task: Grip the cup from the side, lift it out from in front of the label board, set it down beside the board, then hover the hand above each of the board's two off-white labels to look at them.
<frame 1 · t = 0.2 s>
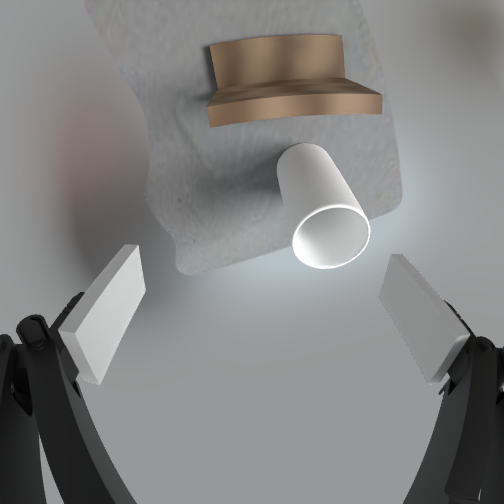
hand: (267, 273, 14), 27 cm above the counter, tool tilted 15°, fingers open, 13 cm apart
cup: (304, 168, 39), on the counter
label board: (282, 86, 30), on the counter
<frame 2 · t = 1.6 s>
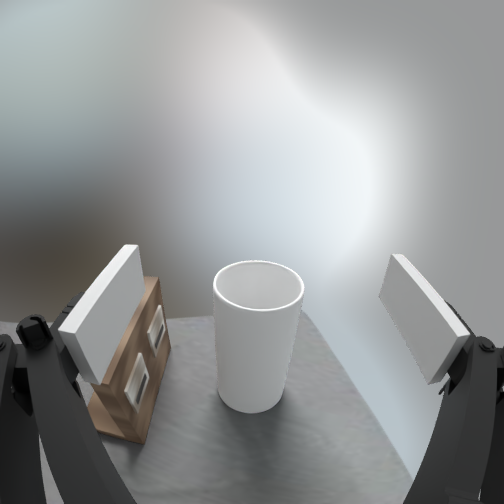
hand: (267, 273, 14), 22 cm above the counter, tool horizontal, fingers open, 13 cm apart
cup: (250, 387, 32), on the counter
label board: (150, 389, 30), on the counter
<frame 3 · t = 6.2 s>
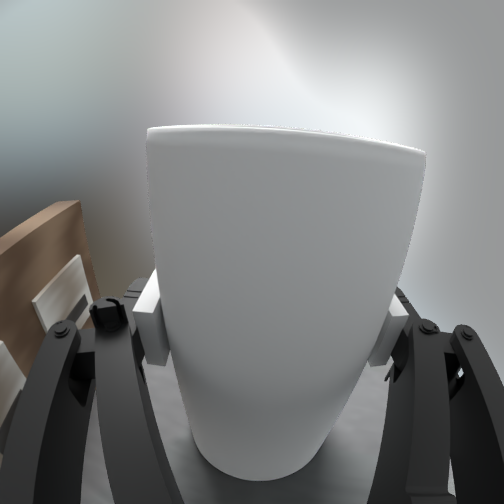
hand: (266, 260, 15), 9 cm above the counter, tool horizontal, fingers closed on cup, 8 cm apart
cup: (258, 425, 15), on the counter, touching gripper
label board: (70, 419, 13), on the counter
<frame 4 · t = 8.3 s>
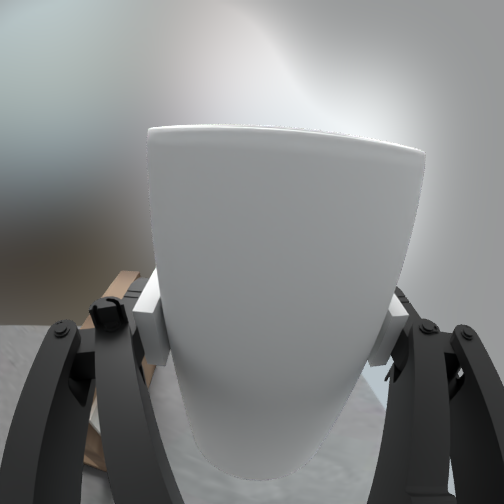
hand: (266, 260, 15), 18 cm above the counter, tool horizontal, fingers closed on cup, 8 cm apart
cup: (258, 424, 15), point 9 cm above the counter, touching gripper
label board: (132, 409, 23), on the counter
when the fingers open (10 cm above the counter, at t = 10.9 s): cup drops 1 cm, on the counter.
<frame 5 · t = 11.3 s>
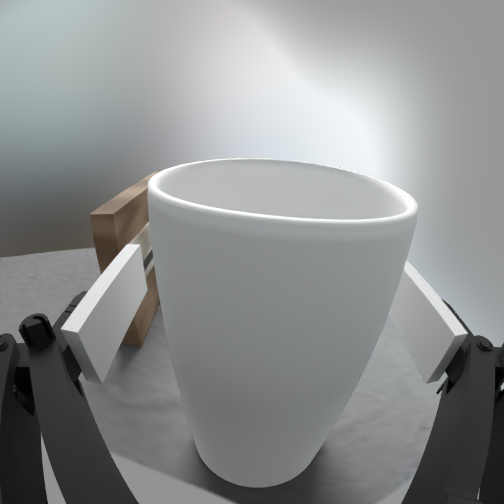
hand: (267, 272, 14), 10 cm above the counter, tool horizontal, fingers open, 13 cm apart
cup: (257, 435, 15), on the counter
label board: (154, 294, 29), on the counter
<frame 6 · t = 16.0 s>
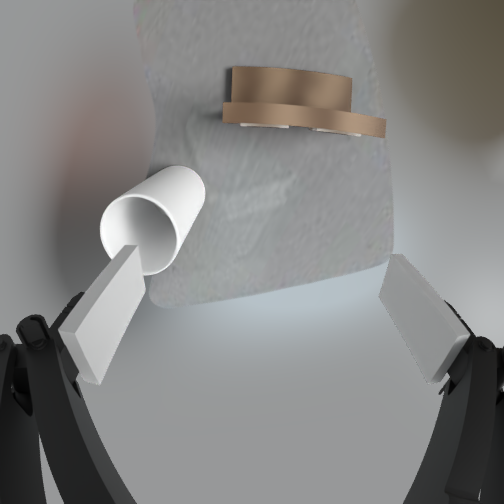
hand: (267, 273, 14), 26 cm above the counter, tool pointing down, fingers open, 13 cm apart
cup: (177, 192, 39), on the counter
label board: (291, 118, 34), on the counter
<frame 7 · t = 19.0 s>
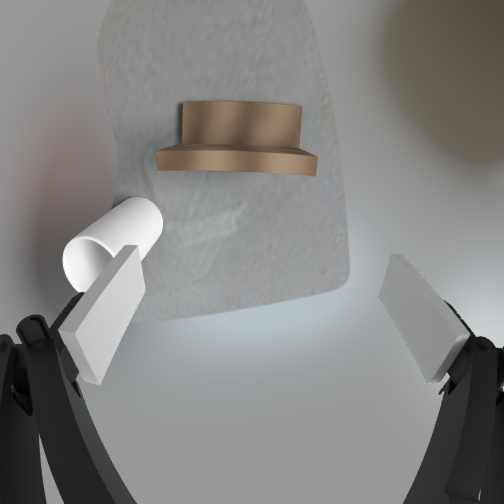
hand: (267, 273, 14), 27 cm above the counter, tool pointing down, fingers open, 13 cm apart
cup: (139, 221, 41), on the counter
label board: (240, 151, 37), on the counter
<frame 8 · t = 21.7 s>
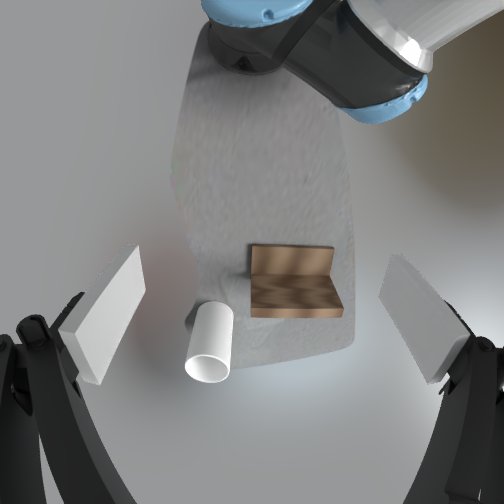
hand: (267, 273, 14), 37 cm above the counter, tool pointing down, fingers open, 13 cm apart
cup: (215, 315, 61), on the counter
label board: (290, 276, 57), on the counter
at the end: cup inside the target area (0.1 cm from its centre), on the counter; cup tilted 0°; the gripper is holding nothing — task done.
